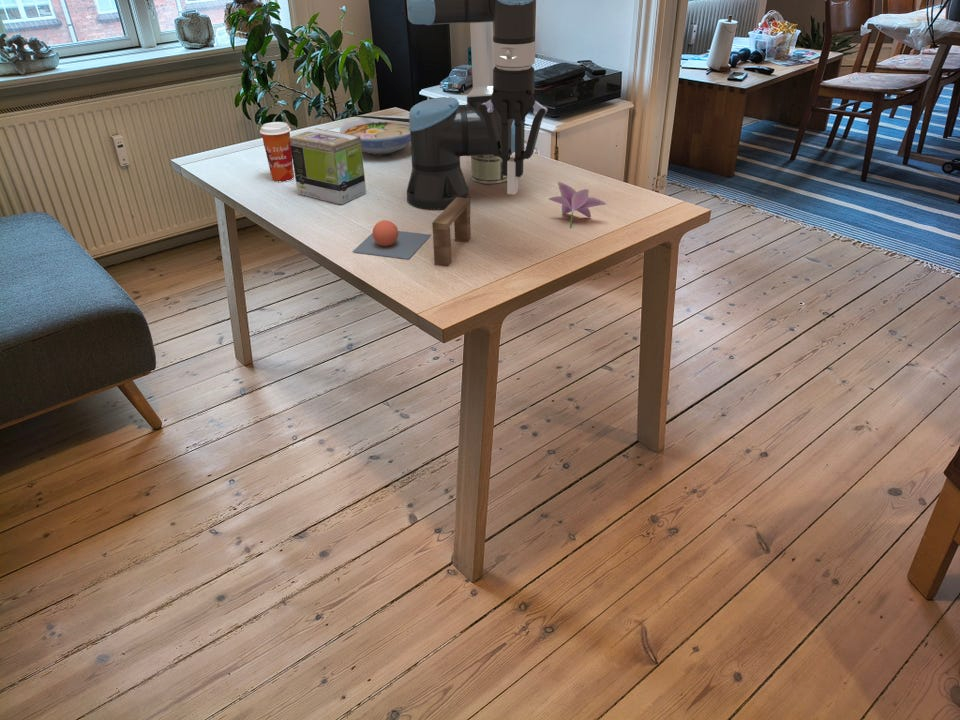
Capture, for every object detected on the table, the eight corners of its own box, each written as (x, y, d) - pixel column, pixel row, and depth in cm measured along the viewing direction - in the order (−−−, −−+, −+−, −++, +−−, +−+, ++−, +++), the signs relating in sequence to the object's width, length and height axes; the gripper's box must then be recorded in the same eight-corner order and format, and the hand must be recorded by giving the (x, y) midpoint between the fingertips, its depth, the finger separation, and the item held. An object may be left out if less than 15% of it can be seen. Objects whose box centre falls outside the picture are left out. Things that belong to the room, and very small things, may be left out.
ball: (380, 213, 162) (404, 221, 162) (376, 235, 165) (399, 244, 165) (370, 221, 157) (394, 230, 157) (366, 244, 160) (389, 253, 160)
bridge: (434, 264, 154) (432, 222, 149) (457, 237, 165) (456, 197, 160) (448, 266, 153) (446, 224, 148) (470, 238, 165) (469, 198, 160)
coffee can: (469, 172, 202) (468, 118, 194) (508, 170, 202) (508, 117, 195) (471, 184, 193) (470, 129, 185) (511, 183, 193) (512, 128, 186)
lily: (610, 231, 170) (613, 188, 169) (577, 224, 162) (580, 179, 161) (569, 233, 178) (571, 192, 178) (535, 227, 170) (538, 184, 170)
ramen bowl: (323, 159, 213) (319, 129, 209) (364, 136, 231) (361, 109, 226) (401, 168, 205) (399, 138, 200) (437, 145, 222) (436, 117, 218)
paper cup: (265, 183, 196) (256, 130, 189) (271, 174, 203) (262, 121, 195) (295, 183, 197) (287, 129, 189) (300, 173, 203) (292, 120, 195)
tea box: (367, 193, 189) (361, 134, 181) (340, 206, 182) (333, 145, 174) (324, 183, 196) (316, 126, 188) (296, 194, 189) (287, 136, 181)
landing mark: (377, 229, 170) (377, 228, 170) (431, 235, 166) (431, 234, 166) (352, 252, 160) (352, 251, 159) (408, 259, 156) (408, 258, 156)
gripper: (472, 68, 134) (475, 195, 147) (544, 72, 131) (540, 201, 143) (485, 60, 140) (486, 182, 153) (553, 63, 136) (549, 188, 149)
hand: (512, 191), depth 148 cm, fingers closed
